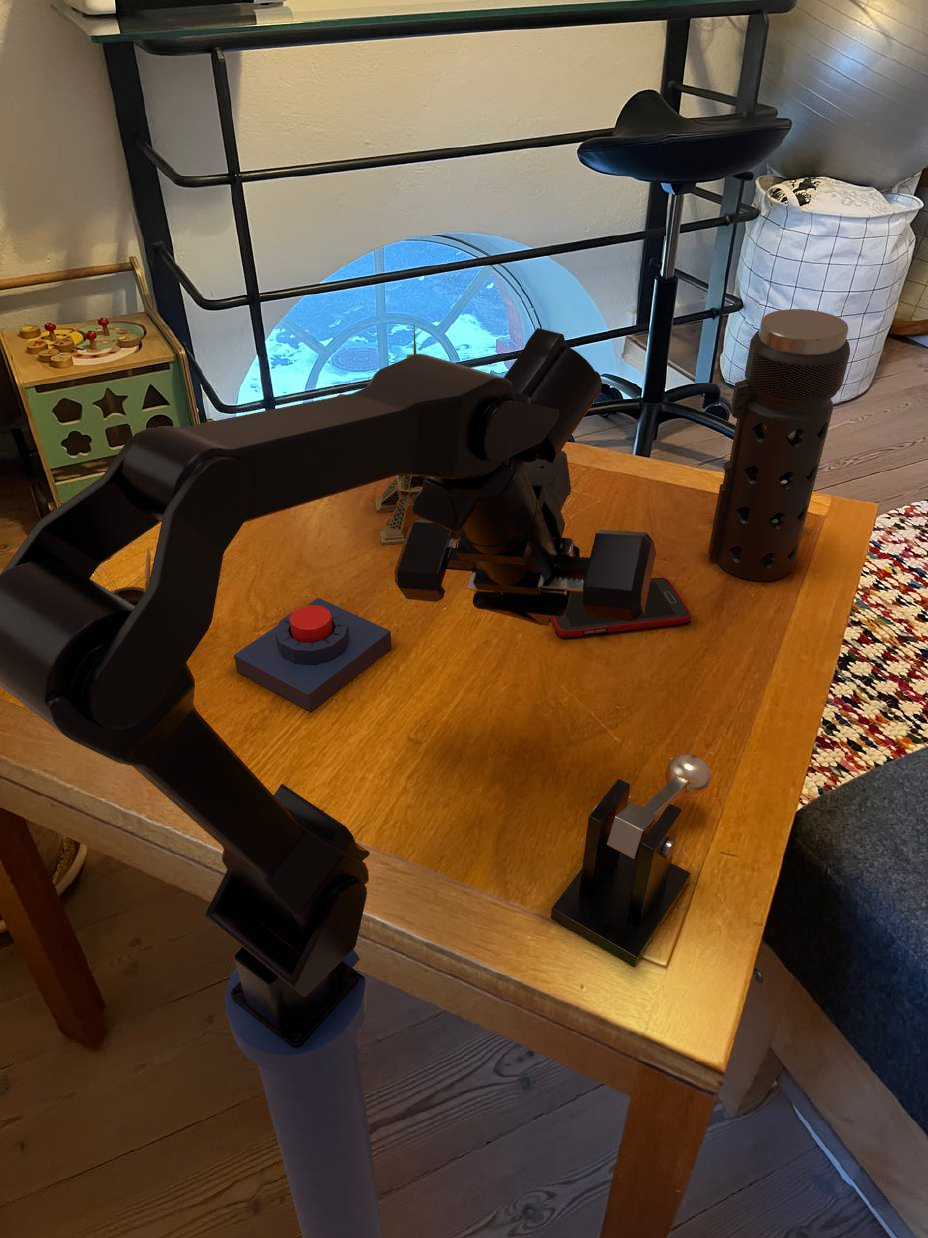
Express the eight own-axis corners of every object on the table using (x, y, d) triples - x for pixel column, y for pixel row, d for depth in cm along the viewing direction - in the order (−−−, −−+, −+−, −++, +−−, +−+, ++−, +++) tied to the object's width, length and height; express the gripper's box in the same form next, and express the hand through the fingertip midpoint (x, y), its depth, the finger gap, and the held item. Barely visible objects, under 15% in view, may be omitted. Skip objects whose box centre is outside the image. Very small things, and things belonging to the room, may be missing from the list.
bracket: (608, 840, 74) (621, 753, 68) (688, 882, 70) (709, 795, 65) (550, 918, 68) (558, 830, 62) (634, 968, 65) (652, 881, 59)
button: (312, 648, 88) (311, 634, 87) (282, 634, 89) (280, 619, 88) (341, 628, 90) (339, 614, 89) (311, 614, 92) (309, 600, 91)
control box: (310, 712, 86) (306, 679, 83) (236, 672, 90) (230, 640, 88) (391, 647, 94) (390, 616, 91) (320, 613, 98) (316, 583, 96)
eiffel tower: (381, 544, 109) (368, 339, 94) (375, 501, 118) (362, 306, 103) (468, 537, 111) (469, 334, 96) (456, 495, 119) (455, 302, 104)
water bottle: (714, 583, 103) (806, 582, 103) (758, 342, 85) (870, 340, 85) (698, 536, 110) (784, 535, 110) (735, 306, 93) (838, 304, 93)
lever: (670, 777, 76) (681, 740, 75) (710, 796, 74) (723, 759, 73) (595, 847, 65) (607, 804, 63) (641, 871, 63) (654, 828, 62)
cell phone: (693, 623, 97) (694, 616, 96) (559, 640, 94) (559, 632, 94) (666, 583, 103) (667, 575, 102) (539, 597, 100) (540, 590, 100)
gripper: (656, 416, 61) (678, 543, 74) (404, 413, 68) (465, 529, 81) (625, 559, 56) (654, 667, 69) (358, 540, 63) (430, 641, 76)
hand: (545, 619), depth 74 cm, fingers closed
